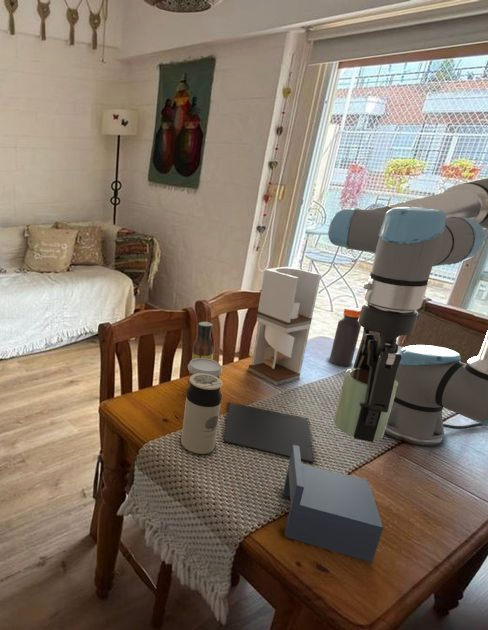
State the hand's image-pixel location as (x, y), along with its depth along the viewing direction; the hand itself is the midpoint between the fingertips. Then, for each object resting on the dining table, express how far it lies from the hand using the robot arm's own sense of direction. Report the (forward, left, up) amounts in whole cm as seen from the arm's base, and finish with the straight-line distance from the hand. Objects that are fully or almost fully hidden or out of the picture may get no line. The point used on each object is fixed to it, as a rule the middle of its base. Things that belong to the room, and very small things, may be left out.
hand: (358, 426), depth 79 cm
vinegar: (-12, -85, -22) cm, 88 cm away
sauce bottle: (+32, -49, -22) cm, 62 cm away
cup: (0, 0, 0) cm, 0 cm away
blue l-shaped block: (+2, +1, -22) cm, 22 cm away
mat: (+12, -29, -22) cm, 38 cm away
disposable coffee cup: (+30, -37, -22) cm, 52 cm away
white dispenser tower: (+10, -65, -22) cm, 69 cm away
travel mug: (+28, -15, -22) cm, 38 cm away
